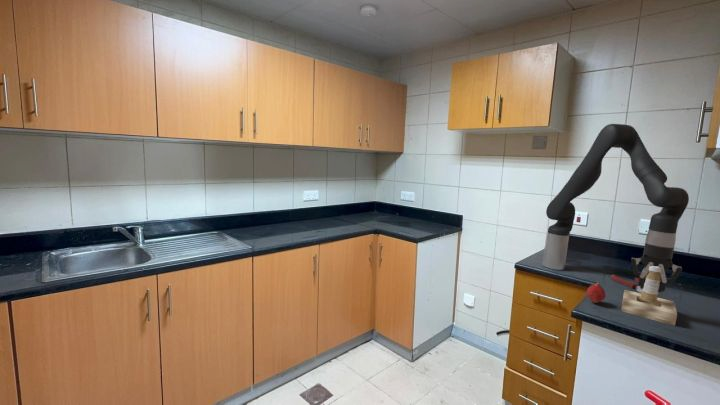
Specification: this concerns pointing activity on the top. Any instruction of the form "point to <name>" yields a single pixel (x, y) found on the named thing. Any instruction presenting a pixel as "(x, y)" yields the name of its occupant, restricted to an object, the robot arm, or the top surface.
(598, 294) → the onion
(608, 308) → the top surface
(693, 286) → the top surface
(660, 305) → the holder
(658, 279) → the sprinkles bottle
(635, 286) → the pliers
